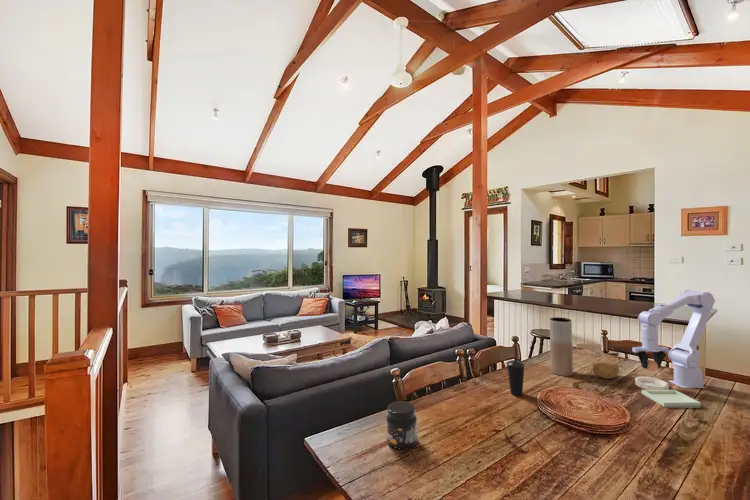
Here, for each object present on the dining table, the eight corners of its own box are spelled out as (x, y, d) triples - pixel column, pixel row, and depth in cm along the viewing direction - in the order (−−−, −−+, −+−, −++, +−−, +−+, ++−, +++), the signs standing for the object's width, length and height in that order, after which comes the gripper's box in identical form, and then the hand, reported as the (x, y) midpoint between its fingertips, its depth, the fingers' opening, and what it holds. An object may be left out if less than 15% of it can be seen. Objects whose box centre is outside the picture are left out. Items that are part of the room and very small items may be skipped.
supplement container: (382, 437, 117) (381, 403, 117) (409, 431, 121) (408, 398, 121) (394, 454, 107) (393, 417, 107) (423, 446, 111) (422, 410, 111)
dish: (654, 381, 157) (654, 376, 157) (675, 392, 145) (675, 386, 145) (629, 381, 158) (629, 376, 158) (647, 392, 146) (647, 386, 146)
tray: (675, 394, 143) (675, 389, 143) (700, 407, 131) (700, 402, 131) (641, 394, 144) (641, 389, 144) (663, 407, 132) (663, 402, 132)
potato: (625, 378, 162) (625, 362, 162) (608, 384, 156) (607, 367, 156) (605, 372, 171) (604, 356, 171) (587, 377, 165) (587, 361, 165)
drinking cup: (522, 390, 152) (521, 346, 152) (528, 397, 144) (527, 351, 144) (505, 390, 153) (503, 346, 153) (510, 397, 145) (508, 351, 145)
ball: (652, 369, 154) (652, 358, 154) (660, 373, 149) (661, 361, 149) (641, 368, 154) (641, 358, 154) (649, 372, 149) (649, 361, 149)
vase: (546, 370, 175) (545, 318, 175) (561, 368, 178) (559, 316, 178) (562, 377, 165) (560, 322, 165) (577, 374, 168) (576, 320, 168)
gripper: (639, 340, 148) (640, 371, 148) (673, 340, 147) (674, 370, 147) (628, 336, 155) (629, 365, 155) (661, 336, 154) (662, 365, 154)
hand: (650, 367), depth 151 cm, fingers closed on ball, 5 cm apart
